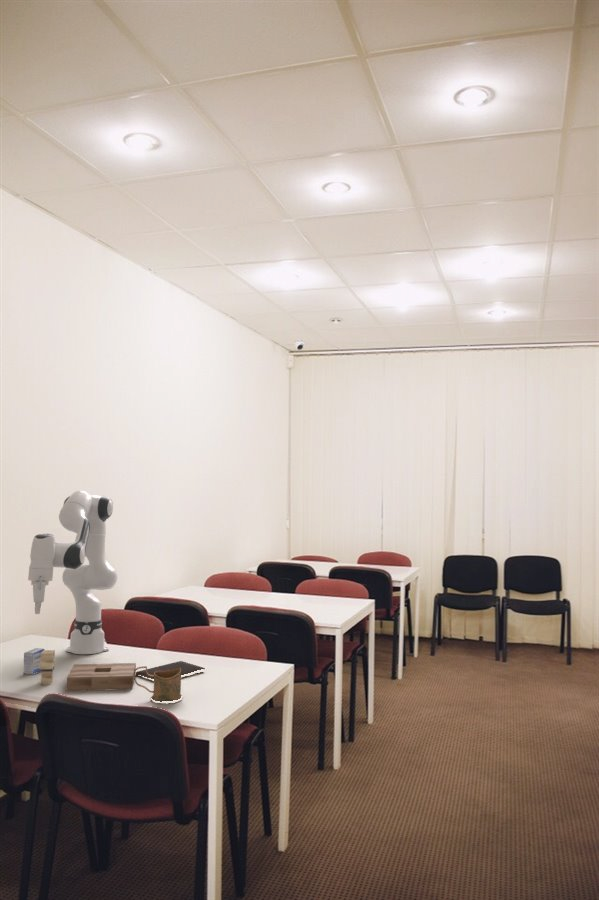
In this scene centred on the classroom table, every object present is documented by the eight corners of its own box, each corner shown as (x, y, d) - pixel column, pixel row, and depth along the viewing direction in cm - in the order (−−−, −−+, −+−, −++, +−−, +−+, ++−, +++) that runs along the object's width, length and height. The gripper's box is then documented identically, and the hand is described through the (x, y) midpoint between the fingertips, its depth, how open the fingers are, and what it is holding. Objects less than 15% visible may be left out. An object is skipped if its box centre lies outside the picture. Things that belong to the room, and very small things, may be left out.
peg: (41, 681, 269) (42, 650, 269) (53, 681, 270) (54, 650, 270) (39, 684, 264) (40, 653, 265) (51, 684, 265) (52, 652, 266)
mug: (133, 695, 254) (134, 662, 255) (181, 693, 258) (182, 660, 259) (133, 706, 243) (134, 671, 243) (183, 703, 247) (184, 669, 247)
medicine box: (32, 675, 277) (33, 653, 277) (22, 674, 278) (23, 652, 278) (44, 669, 285) (44, 648, 285) (34, 668, 286) (35, 647, 286)
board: (73, 677, 275) (74, 664, 276) (135, 675, 279) (135, 662, 280) (66, 691, 258) (66, 677, 258) (132, 689, 262) (132, 675, 262)
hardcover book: (204, 673, 286) (205, 668, 286) (160, 685, 269) (160, 679, 269) (179, 665, 297) (180, 660, 297) (135, 677, 279) (135, 671, 279)
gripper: (49, 577, 259) (46, 615, 257) (48, 574, 277) (45, 610, 275) (31, 577, 256) (28, 615, 254) (31, 574, 275) (28, 610, 273)
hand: (37, 612), depth 265 cm, fingers open, 8 cm apart
